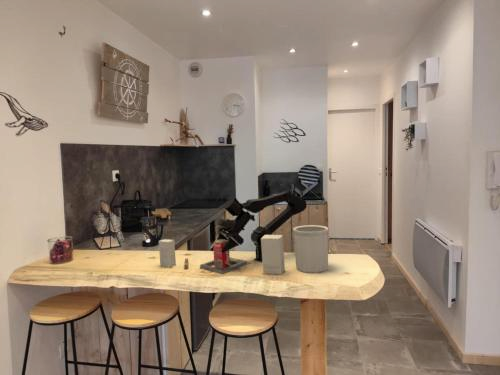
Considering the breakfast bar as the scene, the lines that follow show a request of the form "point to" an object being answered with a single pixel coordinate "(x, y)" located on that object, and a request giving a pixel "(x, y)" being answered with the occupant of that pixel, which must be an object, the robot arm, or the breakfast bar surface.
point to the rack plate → (234, 265)
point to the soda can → (221, 254)
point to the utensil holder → (311, 248)
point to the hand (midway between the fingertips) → (218, 249)
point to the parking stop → (186, 263)
